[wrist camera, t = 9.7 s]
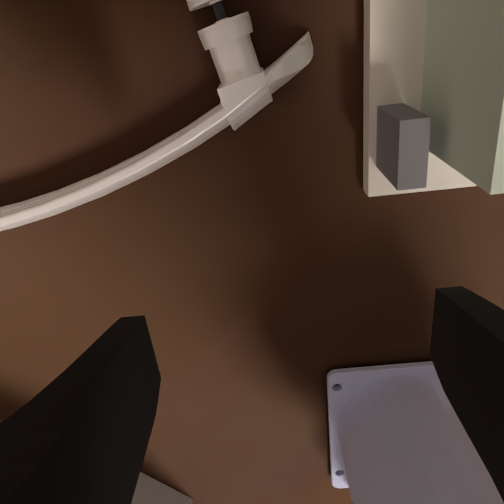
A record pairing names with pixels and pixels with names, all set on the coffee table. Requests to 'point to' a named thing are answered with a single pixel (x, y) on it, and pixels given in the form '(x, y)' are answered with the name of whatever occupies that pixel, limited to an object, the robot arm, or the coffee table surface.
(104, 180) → the door handle
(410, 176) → the plate with corner feet
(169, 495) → the hinge
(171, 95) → the coffee table surface
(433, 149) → the long rectangular block
